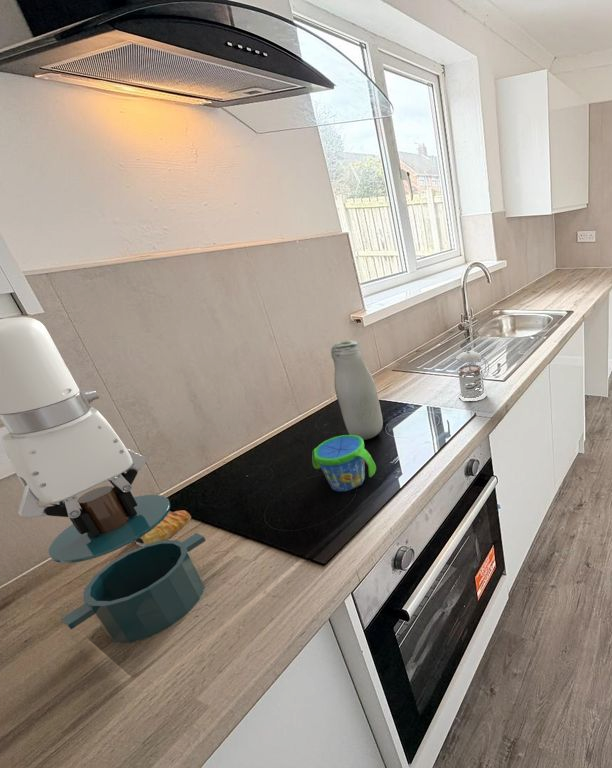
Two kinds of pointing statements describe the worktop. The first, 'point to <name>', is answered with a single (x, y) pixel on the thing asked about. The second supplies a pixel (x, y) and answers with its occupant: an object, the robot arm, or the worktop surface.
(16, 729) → the worktop surface
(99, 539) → the lid
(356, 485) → the snack cup
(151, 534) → the pastry
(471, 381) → the french press
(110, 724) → the worktop surface
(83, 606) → the pot
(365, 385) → the glass bottle
